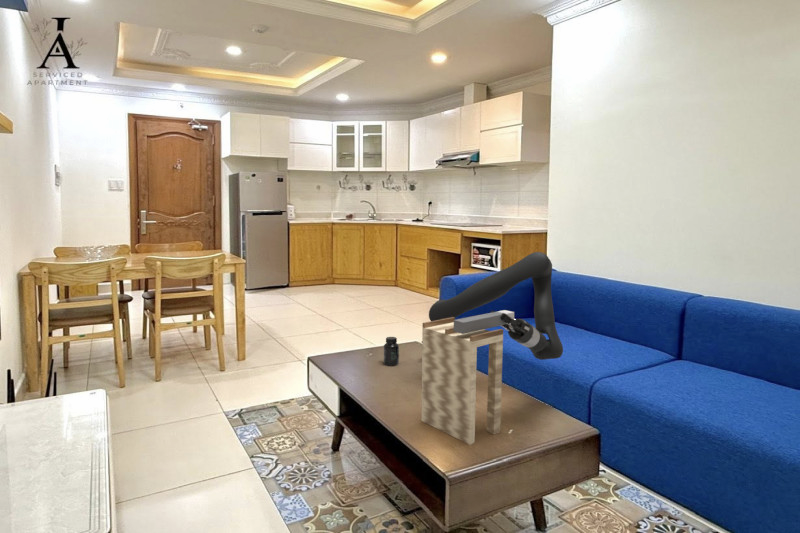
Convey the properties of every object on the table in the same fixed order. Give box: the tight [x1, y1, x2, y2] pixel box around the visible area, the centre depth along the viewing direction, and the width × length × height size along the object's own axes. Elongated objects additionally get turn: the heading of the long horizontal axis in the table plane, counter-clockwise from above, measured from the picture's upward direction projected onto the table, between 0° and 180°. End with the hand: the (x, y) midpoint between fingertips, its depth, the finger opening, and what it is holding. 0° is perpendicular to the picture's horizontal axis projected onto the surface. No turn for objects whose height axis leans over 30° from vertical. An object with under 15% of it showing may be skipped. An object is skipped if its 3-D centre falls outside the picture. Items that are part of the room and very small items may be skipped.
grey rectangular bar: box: [454, 309, 515, 334], centre depth 165 cm, size 4×24×4 cm, turn 129°
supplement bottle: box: [383, 336, 400, 367], centre depth 234 cm, size 7×7×12 cm
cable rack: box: [420, 317, 504, 445], centre depth 168 cm, size 22×14×34 cm, turn 39°
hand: (496, 314), depth 168 cm, fingers closed on grey rectangular bar, 4 cm apart
